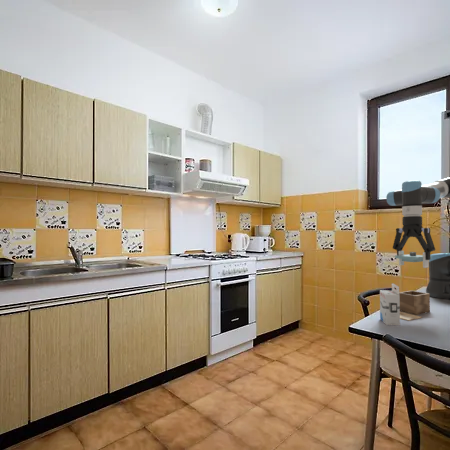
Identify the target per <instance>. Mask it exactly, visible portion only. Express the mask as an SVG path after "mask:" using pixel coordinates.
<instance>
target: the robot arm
mask: <svg viewBox="0 0 450 450" xmlns="http://www.w3.org/2000/svg"><path fill="white" fill-rule="evenodd" d="M385 198H386V203H387V204H388V205H389V206H393V207H394V206H395V207H397V206H401V208H402V213H401V214H402V227H401V228H398V227H397V228H396V229H395V233H396V234H395V237H394V240H393V245H392V249H393V250H395V251H396V255H405V250H403V248H404V247H405V245H406V243H407V242H408V240H409V238H415V239H416V240H417V241H418V243H419V245H420V246H421V248H422V249H423V251H424V252H422V255H423V261H422V268H423V269H427V268H428V275H429V277H428V279H429V280H428V283H427V285H426V289H425V293H429V294H430V297H432V298H435V299H436V298H438V299H446V300H449V299H450V252H447V253H446V252H445V253H444V252H443V253H432V254H431V252H435V251H436V247H435V244H434V241H433V237H432V235H431V228H430V227H425V228H424V227H423V217H422V215H423V204H427V205H428V204H434V203H437V202H438V201H439V200H440V199H444V198H449V199H450V177H446V178H442V179H439V180H435V181H433V182H431V183H428V184H423V185H422V181H420V180H406V181H404V182H402V184H401V189H398V190H396V189H395V190H391V191H388V192H387V194H386V197H385ZM422 232H423V234H422ZM423 235H424V236H423ZM430 256H431V259H430ZM404 265H405V261H402V259H398V266H404Z"/></svg>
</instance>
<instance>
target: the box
mask: <svg viewBox="0 0 450 450" xmlns="http://www.w3.org/2000/svg"><path fill="white" fill-rule="evenodd" d="M399 296H400V312H404V313H408V314H412V315H416V316H419V315H423V314H427V313H431V302H430V300H431V299H430V297H431V296H430V294H429V293H426V292H422V291H416V290H407V291H399Z"/></svg>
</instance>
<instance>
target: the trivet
mask: <svg viewBox="0 0 450 450" xmlns="http://www.w3.org/2000/svg"><path fill="white" fill-rule="evenodd" d="M418 319H423V316H419V315H414V314H410V313H405V312H401V311H400V320H404V321H408V322H411V321H414V320H418Z"/></svg>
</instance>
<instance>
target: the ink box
mask: <svg viewBox="0 0 450 450" xmlns="http://www.w3.org/2000/svg"><path fill="white" fill-rule="evenodd" d="M399 292H400V286H399V285H397V284H395V283H391V290H388V289H387V290H386V289H385V290H384V289H380V290H379V316H380V317H379V318H380V320H381V321H382V322H383V323H384V324H385V325H386V326H398V327H400V326H401V319H400V312H401V311H400V296H399Z"/></svg>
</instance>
